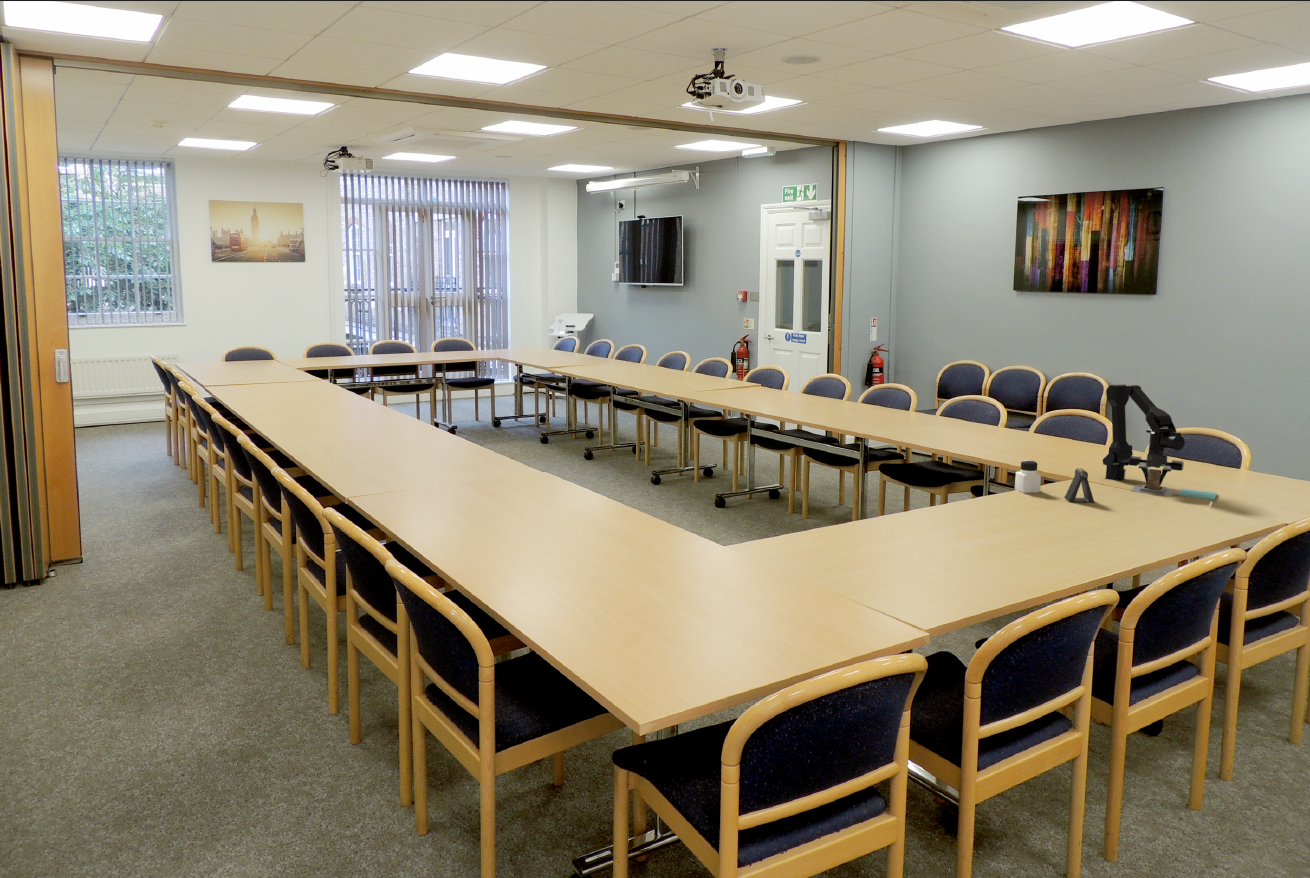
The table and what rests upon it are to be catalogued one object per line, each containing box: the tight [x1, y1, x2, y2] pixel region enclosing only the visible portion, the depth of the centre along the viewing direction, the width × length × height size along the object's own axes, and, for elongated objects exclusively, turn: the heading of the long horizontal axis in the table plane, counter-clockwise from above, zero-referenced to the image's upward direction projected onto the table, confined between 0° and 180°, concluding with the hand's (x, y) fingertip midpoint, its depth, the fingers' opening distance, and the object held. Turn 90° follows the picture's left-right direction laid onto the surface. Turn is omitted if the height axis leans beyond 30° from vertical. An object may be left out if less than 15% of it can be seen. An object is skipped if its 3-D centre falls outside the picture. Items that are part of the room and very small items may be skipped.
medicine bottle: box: [1014, 459, 1042, 494], centre depth 360 cm, size 7×7×12 cm
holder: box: [1130, 484, 1176, 497], centre depth 359 cm, size 14×14×2 cm
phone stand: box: [1064, 467, 1095, 504], centre depth 345 cm, size 9×6×12 cm, turn 81°
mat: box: [1177, 488, 1218, 502], centre depth 352 cm, size 12×12×1 cm
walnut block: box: [1146, 468, 1162, 490], centre depth 358 cm, size 4×4×8 cm
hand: (1153, 484), depth 359 cm, fingers closed on walnut block, 4 cm apart
